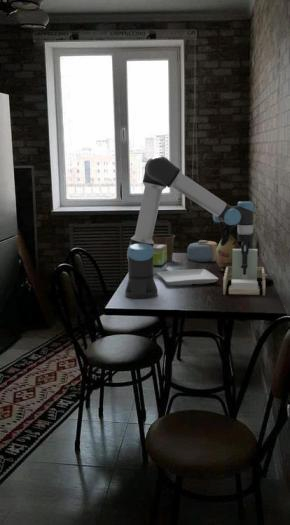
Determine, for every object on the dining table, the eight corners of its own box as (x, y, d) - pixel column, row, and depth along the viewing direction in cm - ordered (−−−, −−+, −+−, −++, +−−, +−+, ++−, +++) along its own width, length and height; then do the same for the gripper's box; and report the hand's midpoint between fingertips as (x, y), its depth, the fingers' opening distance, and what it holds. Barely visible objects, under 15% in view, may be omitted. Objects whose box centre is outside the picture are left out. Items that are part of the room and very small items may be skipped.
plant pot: (146, 262, 329) (146, 237, 327) (153, 258, 345) (153, 234, 342) (171, 263, 325) (171, 237, 322) (177, 259, 340) (177, 234, 337)
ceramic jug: (229, 266, 311) (229, 216, 306) (247, 270, 299) (248, 217, 293) (207, 270, 302) (207, 218, 297) (225, 274, 290) (225, 220, 284)
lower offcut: (259, 295, 242) (259, 289, 242) (228, 295, 245) (228, 288, 245) (259, 292, 249) (259, 286, 249) (229, 291, 252) (229, 285, 251)
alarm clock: (220, 261, 329) (220, 242, 327) (188, 262, 329) (188, 243, 327) (217, 256, 348) (217, 238, 346) (186, 257, 348) (186, 239, 346)
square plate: (204, 274, 291) (204, 268, 290) (219, 285, 264) (219, 277, 264) (155, 277, 287) (155, 270, 286) (166, 288, 260) (166, 280, 259)
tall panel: (256, 286, 258) (257, 250, 255) (232, 286, 261) (232, 250, 257) (256, 284, 263) (257, 248, 260) (232, 284, 265) (232, 248, 262)
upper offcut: (257, 289, 242) (257, 282, 242) (231, 288, 244) (231, 282, 244) (257, 285, 249) (257, 279, 249) (231, 285, 251) (231, 279, 251)
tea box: (163, 274, 294) (162, 247, 292) (145, 273, 296) (144, 247, 294) (167, 268, 309) (167, 243, 306) (150, 268, 311) (150, 243, 308)
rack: (265, 295, 241) (265, 280, 239) (223, 294, 244) (223, 279, 243) (263, 280, 272) (263, 267, 271) (226, 279, 276) (226, 266, 275)
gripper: (253, 236, 246) (252, 283, 251) (252, 230, 267) (252, 274, 271) (236, 236, 248) (236, 283, 252) (237, 230, 268) (237, 274, 272)
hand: (244, 278), depth 261 cm, fingers open, 8 cm apart
